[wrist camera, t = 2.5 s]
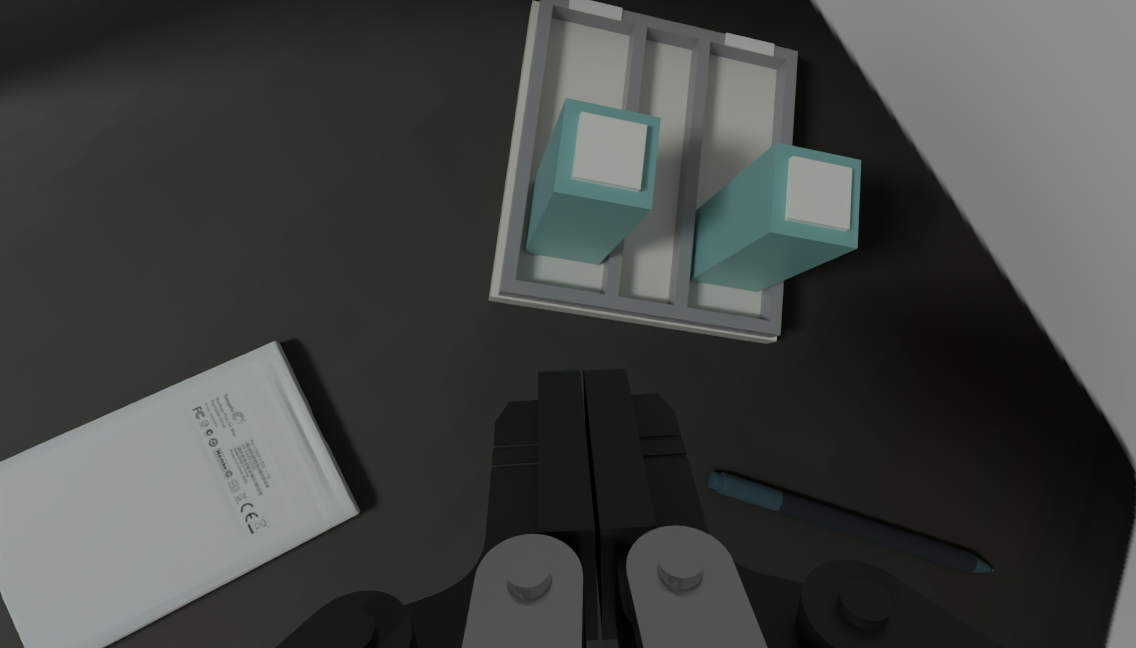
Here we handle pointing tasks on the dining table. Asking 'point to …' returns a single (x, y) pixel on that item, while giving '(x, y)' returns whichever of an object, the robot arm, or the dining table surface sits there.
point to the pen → (845, 522)
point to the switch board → (683, 168)
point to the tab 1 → (592, 182)
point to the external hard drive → (163, 502)
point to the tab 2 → (777, 219)
